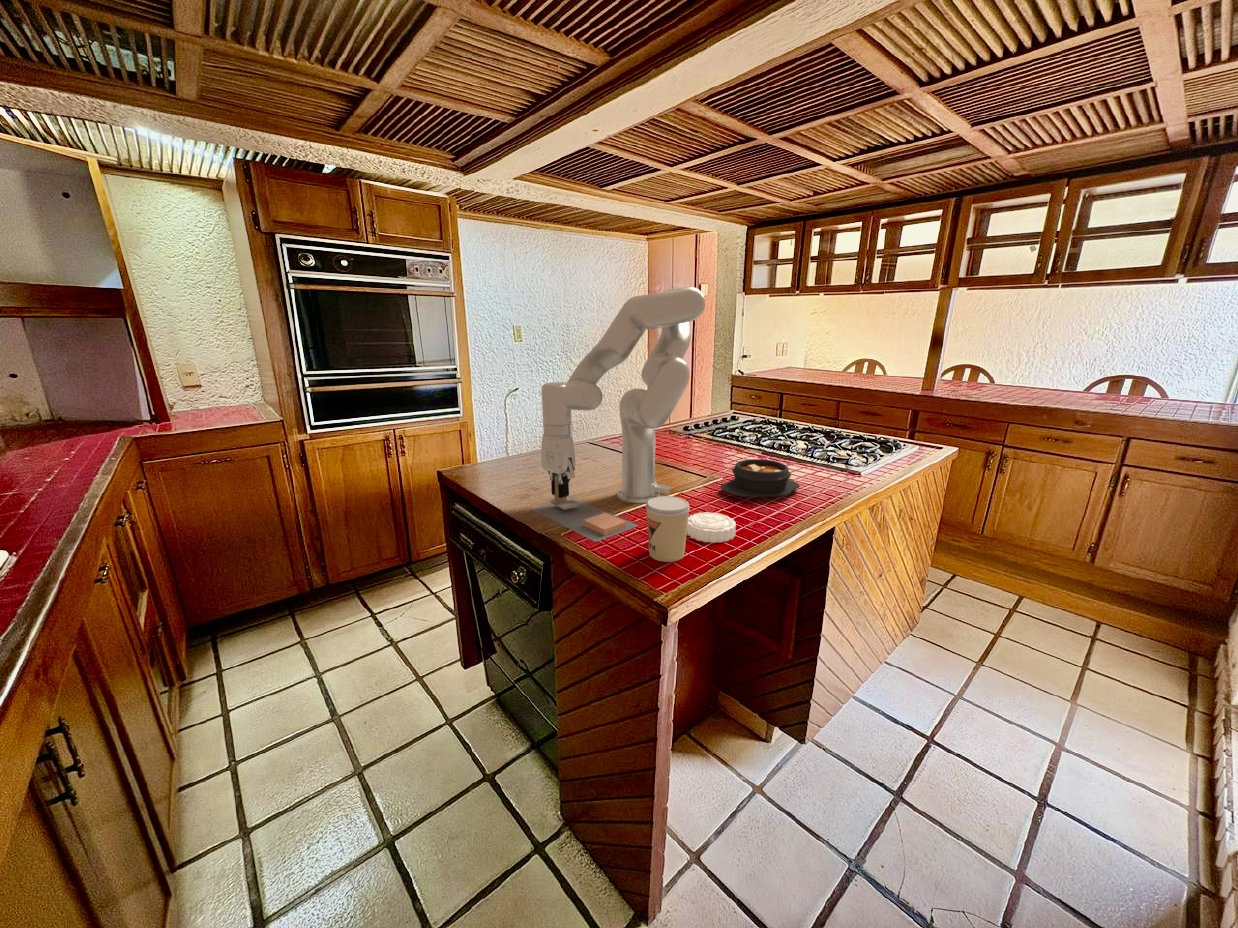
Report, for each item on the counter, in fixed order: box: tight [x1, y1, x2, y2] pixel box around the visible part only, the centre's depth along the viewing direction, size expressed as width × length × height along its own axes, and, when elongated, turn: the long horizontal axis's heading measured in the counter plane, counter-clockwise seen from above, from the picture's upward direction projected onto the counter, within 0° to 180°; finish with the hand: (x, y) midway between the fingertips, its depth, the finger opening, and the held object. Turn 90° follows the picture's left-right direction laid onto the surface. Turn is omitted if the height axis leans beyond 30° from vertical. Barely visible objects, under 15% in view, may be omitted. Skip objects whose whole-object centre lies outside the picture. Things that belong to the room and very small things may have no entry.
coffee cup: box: [645, 495, 690, 563], centre depth 104 cm, size 9×9×12 cm
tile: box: [584, 513, 626, 536], centre depth 119 cm, size 2×7×8 cm
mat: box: [531, 497, 639, 543], centre depth 126 cm, size 28×14×1 cm, turn 42°
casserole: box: [719, 458, 801, 499], centre depth 144 cm, size 25×19×8 cm
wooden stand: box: [549, 475, 580, 510], centre depth 130 cm, size 7×5×8 cm
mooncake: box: [686, 511, 737, 544], centre depth 116 cm, size 12×12×4 cm
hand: (560, 494), depth 132 cm, fingers closed on wooden stand, 2 cm apart
